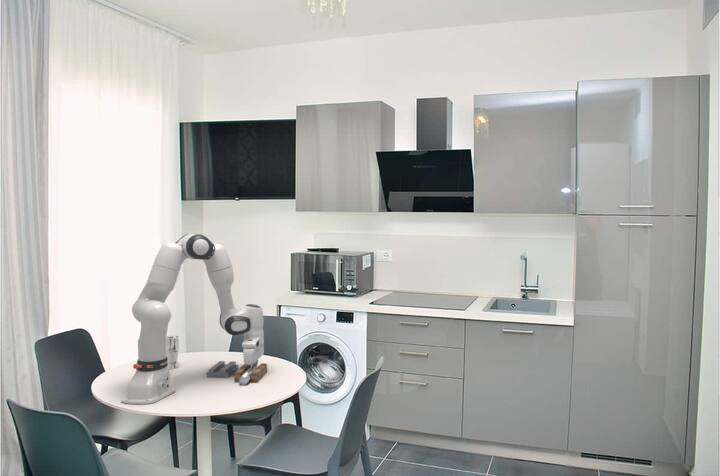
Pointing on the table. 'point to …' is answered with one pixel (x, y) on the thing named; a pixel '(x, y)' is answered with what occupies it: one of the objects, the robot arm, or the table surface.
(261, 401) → the table surface
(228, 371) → the v block
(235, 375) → the wooden channel cradle
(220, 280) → the robot arm
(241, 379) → the axle
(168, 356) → the beer glass
